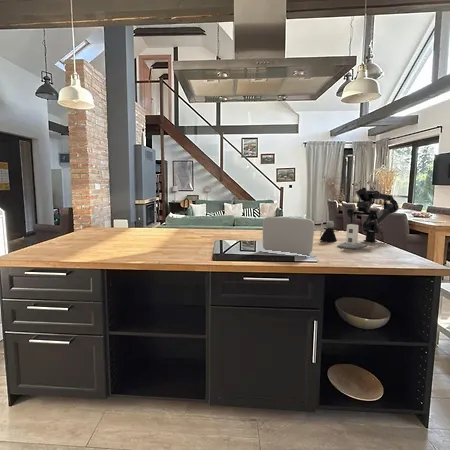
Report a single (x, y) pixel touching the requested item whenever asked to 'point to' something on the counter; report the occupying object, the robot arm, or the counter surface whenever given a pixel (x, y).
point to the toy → (328, 232)
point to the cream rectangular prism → (352, 234)
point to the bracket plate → (352, 246)
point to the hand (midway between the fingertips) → (358, 223)
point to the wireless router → (288, 235)
